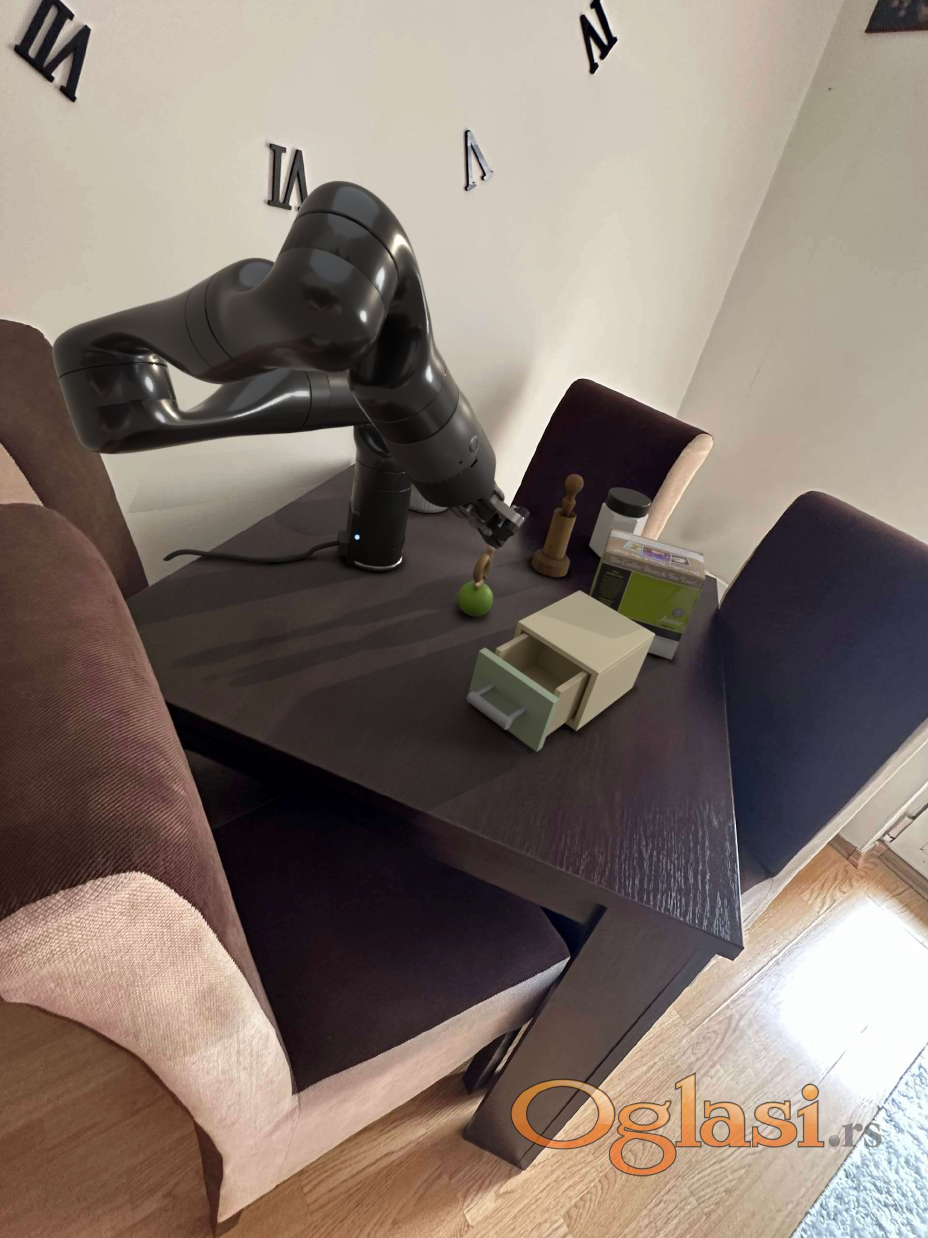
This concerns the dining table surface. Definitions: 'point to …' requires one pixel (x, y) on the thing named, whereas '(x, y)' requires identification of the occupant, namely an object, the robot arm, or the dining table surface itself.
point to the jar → (620, 516)
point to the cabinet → (592, 647)
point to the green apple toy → (477, 588)
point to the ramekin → (422, 503)
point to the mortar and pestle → (559, 534)
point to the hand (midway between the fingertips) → (498, 539)
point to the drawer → (527, 688)
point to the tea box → (650, 585)
